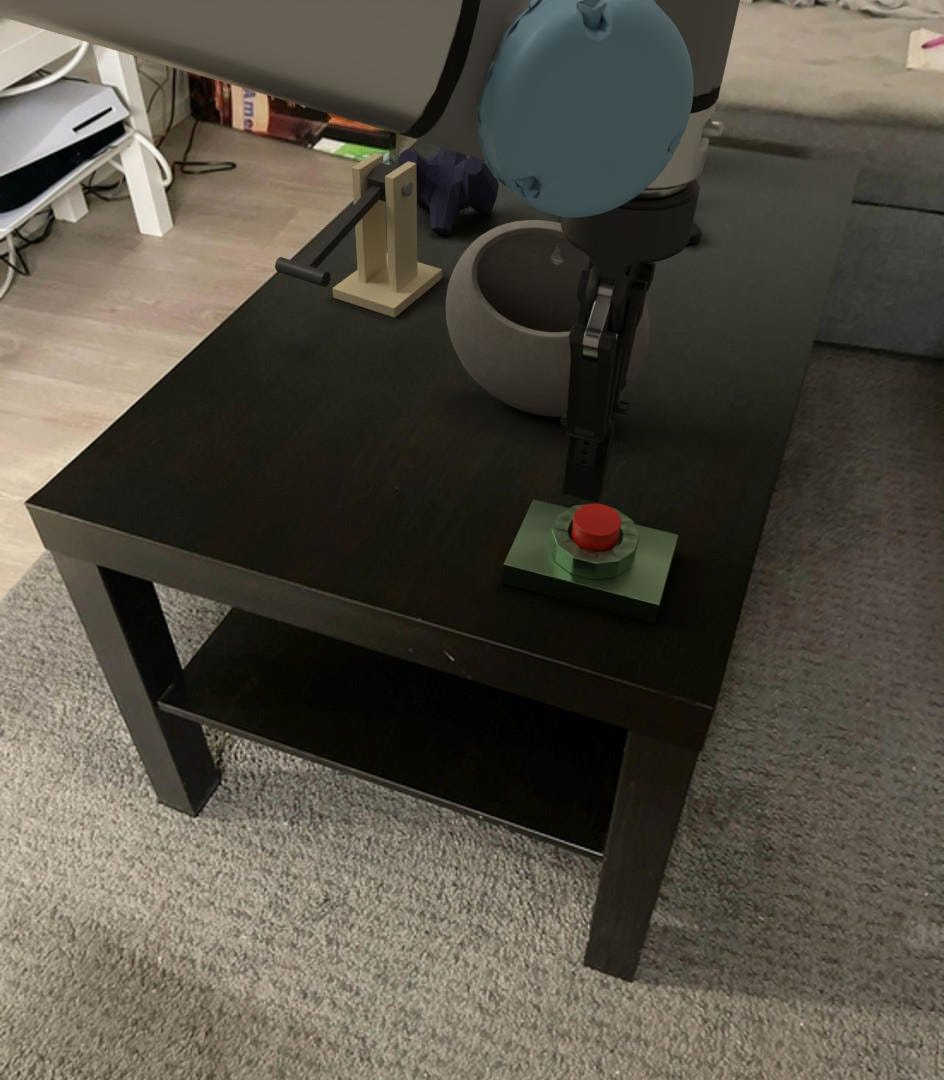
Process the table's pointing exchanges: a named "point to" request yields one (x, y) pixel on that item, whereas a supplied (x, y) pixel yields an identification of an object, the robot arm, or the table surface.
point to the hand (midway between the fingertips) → (582, 491)
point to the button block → (590, 564)
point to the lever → (337, 232)
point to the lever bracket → (396, 273)
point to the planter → (523, 315)
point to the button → (596, 527)
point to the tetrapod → (451, 185)
